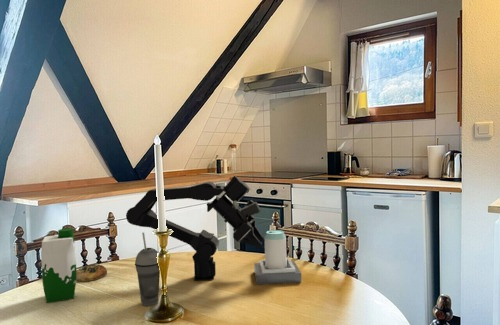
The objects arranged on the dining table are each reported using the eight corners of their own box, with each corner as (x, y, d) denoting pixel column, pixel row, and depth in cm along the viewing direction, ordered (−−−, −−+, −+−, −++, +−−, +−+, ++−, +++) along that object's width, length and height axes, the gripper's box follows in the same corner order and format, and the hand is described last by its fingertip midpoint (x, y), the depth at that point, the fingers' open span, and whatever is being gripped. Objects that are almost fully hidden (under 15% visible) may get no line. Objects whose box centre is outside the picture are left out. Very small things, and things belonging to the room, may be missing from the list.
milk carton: (77, 299, 108) (73, 231, 108) (41, 305, 105) (38, 235, 104) (78, 289, 116) (75, 226, 116) (45, 294, 113) (42, 229, 112)
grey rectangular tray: (257, 284, 116) (256, 271, 116) (254, 271, 128) (254, 259, 127) (301, 282, 116) (301, 269, 116) (294, 269, 128) (294, 257, 128)
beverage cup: (156, 309, 100) (153, 235, 99) (131, 307, 101) (128, 235, 100) (167, 298, 107) (164, 229, 106) (144, 297, 108) (141, 229, 108)
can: (267, 272, 118) (265, 234, 118) (263, 265, 125) (262, 230, 125) (288, 270, 119) (287, 233, 118) (284, 263, 126) (283, 228, 125)
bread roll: (112, 270, 134) (110, 257, 133) (100, 285, 123) (98, 271, 122) (81, 272, 134) (79, 259, 133) (67, 288, 123) (64, 274, 122)
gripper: (243, 197, 112) (280, 233, 112) (247, 190, 131) (279, 221, 131) (218, 223, 113) (254, 259, 113) (226, 212, 132) (257, 243, 131)
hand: (262, 244), depth 122 cm, fingers open, 9 cm apart
